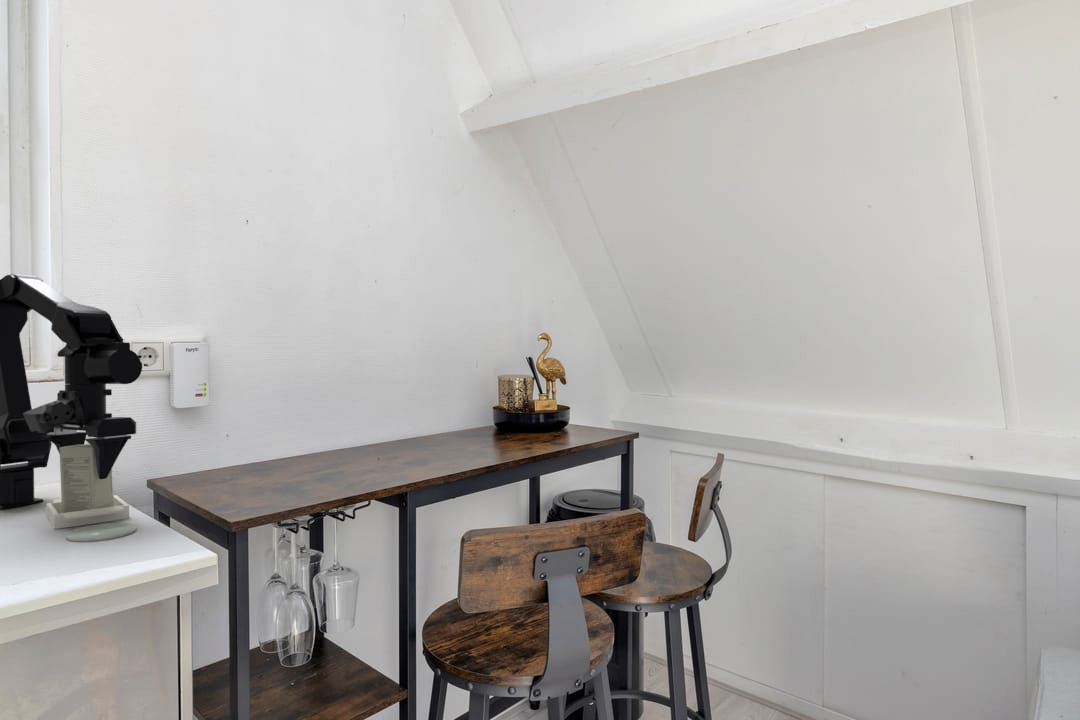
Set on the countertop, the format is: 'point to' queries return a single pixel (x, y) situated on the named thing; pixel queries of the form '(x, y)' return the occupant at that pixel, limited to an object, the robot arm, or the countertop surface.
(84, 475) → the skincare box
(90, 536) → the coaster
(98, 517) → the white rectangular tray
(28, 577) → the countertop surface
